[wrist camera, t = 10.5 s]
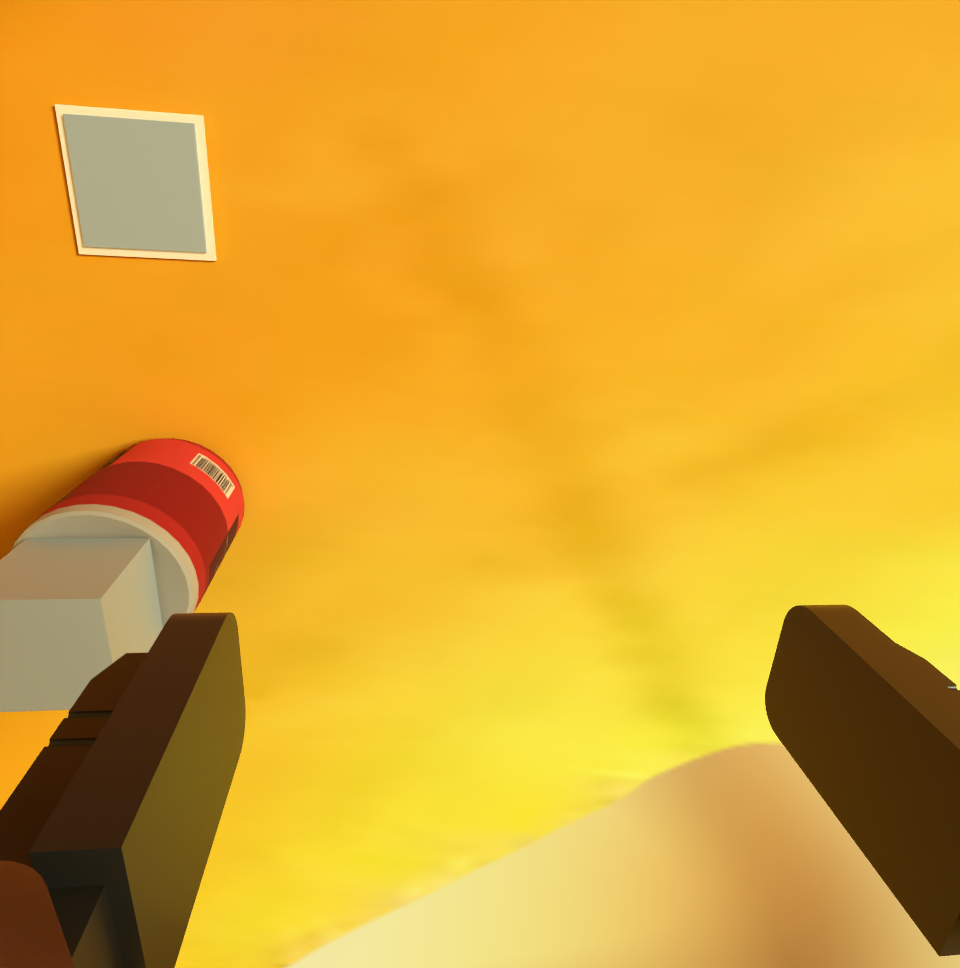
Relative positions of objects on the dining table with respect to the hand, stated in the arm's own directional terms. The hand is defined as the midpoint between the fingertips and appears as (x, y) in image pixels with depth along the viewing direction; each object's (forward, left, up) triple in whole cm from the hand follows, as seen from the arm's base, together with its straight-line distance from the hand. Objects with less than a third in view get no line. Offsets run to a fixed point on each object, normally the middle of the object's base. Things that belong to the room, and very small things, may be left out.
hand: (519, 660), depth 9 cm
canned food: (+10, -15, -30) cm, 35 cm away
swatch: (-7, -15, -30) cm, 34 cm away
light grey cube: (+10, -15, -19) cm, 26 cm away
